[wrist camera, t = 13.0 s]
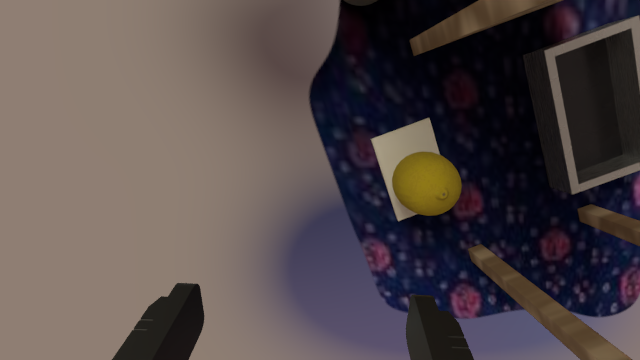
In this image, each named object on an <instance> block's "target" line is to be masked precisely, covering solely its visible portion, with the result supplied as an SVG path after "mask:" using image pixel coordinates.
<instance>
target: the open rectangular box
mask: <svg viewBox="0 0 640 360" xmlns="http://www.w3.org/2000/svg"><path fill="white" fill-rule="evenodd" d="M522 56H523V61H524V66H525V71H526V75H527V80H528V85H529V90H530V95H531V99H532V104H533V109H534V114H535V118H536V123H537V128H538V133H539V138H540V142H541V147H542V152H543V157H544V162H545V166H546V171H547V176H548V181H549V186H550V188H553V189H556V190H559V191H562V192H565V193H568V194H571V195H573V194H576V193H578V192H581V191H584V190H587V189H589V188H592V187H595V186H598V185H600V184H603V183H606V182H609V181H611V180H614V179H617V178H620V177H622V176H625V175H628V174H631V173H633V172H636V171H639V170H640V20H639V16H635V17H631V18H627V19H624V20H620V21H616V22H612V23H608V24H606V25H603V26H600V27H598V28H595V29H592V30H589V31H587V32H584V33H581V34H579V35H576V36H573V37H571V38H568V39H565V40H563V41H560V42H557V43H555V44H552V45H549V46H546V47H544V48H541V49H538V50H536V51H533V52H530V53H528V54H525V55H522Z"/></svg>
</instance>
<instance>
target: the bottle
mask: <svg viewBox="0 0 640 360" xmlns="http://www.w3.org/2000/svg"><path fill="white" fill-rule="evenodd" d="M344 1H345V2H347V3H349V4H352V5H356V6H365V5H369V4H372V3H374V2H376V1H377V0H344Z"/></svg>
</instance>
